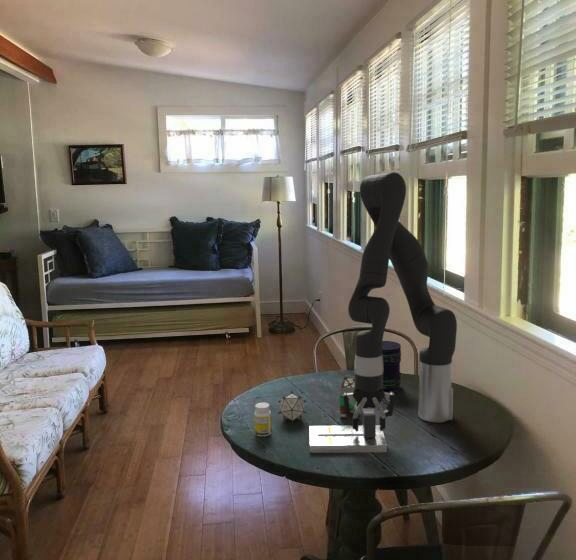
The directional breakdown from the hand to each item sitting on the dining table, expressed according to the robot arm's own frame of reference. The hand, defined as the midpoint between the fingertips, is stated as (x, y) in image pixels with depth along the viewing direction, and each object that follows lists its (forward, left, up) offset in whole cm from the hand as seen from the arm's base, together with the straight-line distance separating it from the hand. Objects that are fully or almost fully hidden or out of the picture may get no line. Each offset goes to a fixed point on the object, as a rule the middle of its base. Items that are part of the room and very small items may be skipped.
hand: (368, 429), depth 155 cm
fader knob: (0, 0, -1) cm, 1 cm away
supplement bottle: (+29, -6, -4) cm, 30 cm away
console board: (+6, 0, -3) cm, 7 cm away
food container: (+3, -19, -4) cm, 20 cm away
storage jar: (-10, -40, -4) cm, 41 cm away
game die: (+21, -15, -4) cm, 26 cm away
